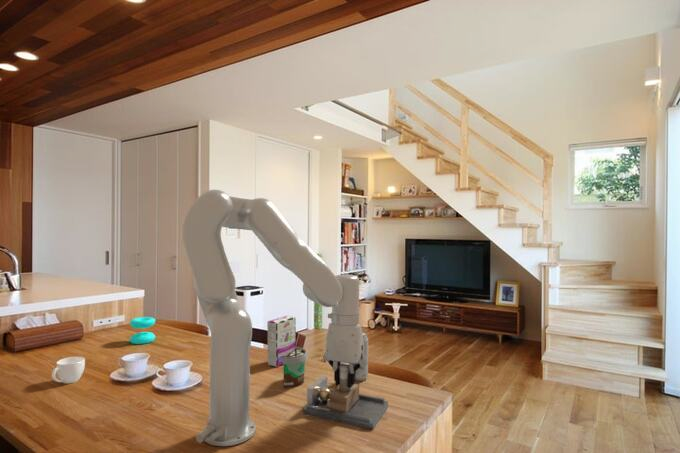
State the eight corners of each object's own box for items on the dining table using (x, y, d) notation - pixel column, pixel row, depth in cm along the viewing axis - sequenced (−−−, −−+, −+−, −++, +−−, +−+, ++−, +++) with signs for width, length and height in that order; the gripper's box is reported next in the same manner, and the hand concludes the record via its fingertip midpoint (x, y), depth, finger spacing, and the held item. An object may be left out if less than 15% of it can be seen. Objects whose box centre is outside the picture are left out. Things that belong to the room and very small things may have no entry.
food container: (301, 391, 125) (301, 359, 125) (282, 389, 126) (282, 357, 126) (311, 376, 137) (312, 347, 137) (294, 375, 138) (294, 346, 138)
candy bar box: (286, 357, 157) (286, 315, 157) (296, 359, 154) (296, 316, 154) (266, 365, 147) (266, 320, 147) (276, 367, 145) (277, 322, 145)
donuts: (137, 316, 180) (159, 316, 180) (137, 338, 180) (159, 338, 180) (125, 321, 170) (148, 321, 170) (124, 344, 170) (148, 345, 170)
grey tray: (373, 429, 101) (373, 403, 101) (302, 414, 109) (303, 390, 109) (388, 406, 114) (388, 384, 114) (324, 394, 122) (324, 373, 122)
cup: (90, 378, 133) (90, 358, 133) (61, 389, 124) (61, 368, 124) (73, 375, 135) (73, 355, 135) (43, 386, 126) (43, 365, 126)
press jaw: (346, 413, 106) (346, 371, 106) (329, 409, 108) (329, 369, 108) (359, 398, 116) (359, 360, 116) (343, 395, 118) (343, 357, 117)
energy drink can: (346, 379, 135) (347, 334, 134) (354, 373, 140) (355, 330, 140) (363, 382, 132) (363, 337, 132) (370, 376, 137) (371, 332, 137)
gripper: (313, 319, 112) (312, 385, 112) (368, 325, 105) (368, 395, 105) (324, 313, 119) (323, 376, 119) (377, 319, 112) (376, 385, 112)
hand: (344, 384), depth 112 cm, fingers closed on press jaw, 3 cm apart
